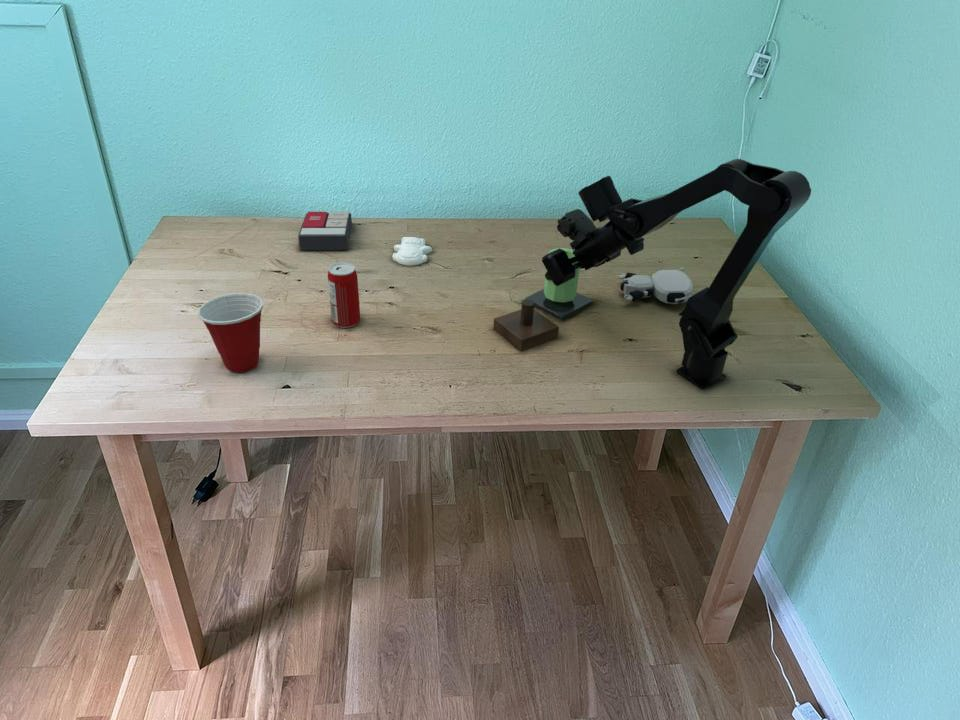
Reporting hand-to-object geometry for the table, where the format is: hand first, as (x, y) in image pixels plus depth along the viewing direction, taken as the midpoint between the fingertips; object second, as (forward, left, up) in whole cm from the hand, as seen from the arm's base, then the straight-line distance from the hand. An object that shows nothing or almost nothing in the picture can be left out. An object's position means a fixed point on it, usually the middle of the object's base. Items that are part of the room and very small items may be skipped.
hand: (557, 272), depth 145 cm
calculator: (+52, +27, -7) cm, 59 cm away
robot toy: (-10, -20, -7) cm, 23 cm away
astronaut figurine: (+34, +14, -7) cm, 38 cm away
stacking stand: (-7, +13, -7) cm, 16 cm away
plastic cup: (+12, +62, -7) cm, 64 cm away
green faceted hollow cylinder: (-1, 0, -5) cm, 5 cm away
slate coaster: (-1, 0, -7) cm, 7 cm away
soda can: (+15, +40, -7) cm, 44 cm away
